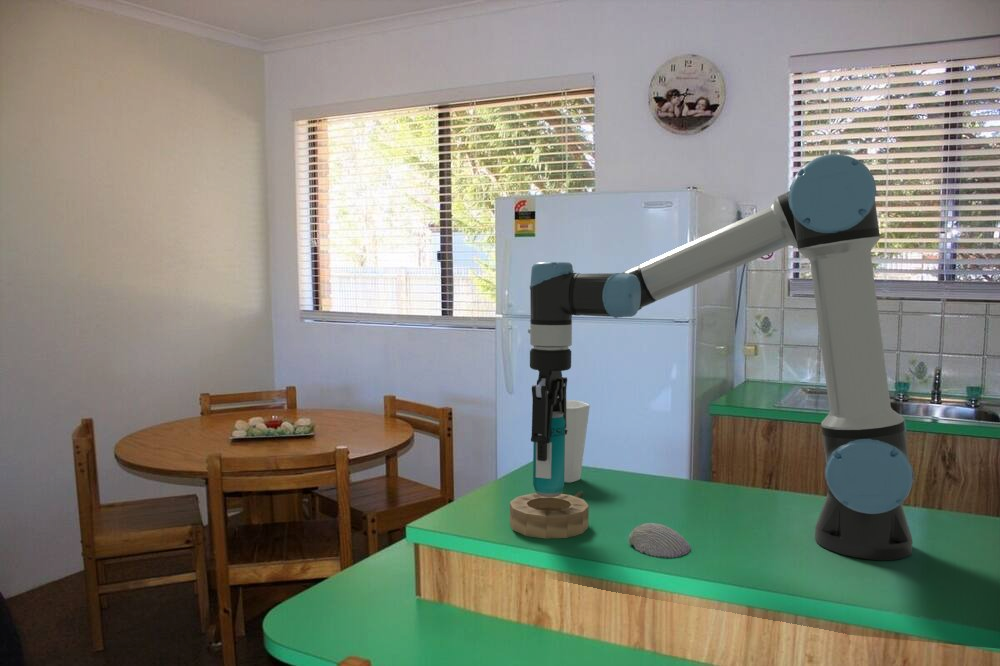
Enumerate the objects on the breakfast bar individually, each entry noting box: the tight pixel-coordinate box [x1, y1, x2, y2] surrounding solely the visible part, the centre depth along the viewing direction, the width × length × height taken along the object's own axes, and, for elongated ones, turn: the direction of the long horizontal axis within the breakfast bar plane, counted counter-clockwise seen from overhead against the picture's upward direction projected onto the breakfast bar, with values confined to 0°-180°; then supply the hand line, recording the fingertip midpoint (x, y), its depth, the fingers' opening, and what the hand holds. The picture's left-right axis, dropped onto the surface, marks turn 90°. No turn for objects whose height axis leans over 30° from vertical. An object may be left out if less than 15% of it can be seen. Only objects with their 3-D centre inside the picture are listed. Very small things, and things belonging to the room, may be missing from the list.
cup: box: [564, 399, 590, 483], centre depth 173 cm, size 11×10×17 cm
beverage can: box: [532, 411, 565, 497], centre depth 141 cm, size 6×6×15 cm
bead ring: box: [509, 492, 590, 540], centre depth 142 cm, size 14×14×4 cm
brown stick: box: [573, 491, 583, 499], centre depth 155 cm, size 1×14×1 cm, turn 159°
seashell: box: [628, 522, 692, 559], centre depth 131 cm, size 10×6×10 cm
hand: (549, 473), depth 141 cm, fingers closed on beverage can, 6 cm apart
